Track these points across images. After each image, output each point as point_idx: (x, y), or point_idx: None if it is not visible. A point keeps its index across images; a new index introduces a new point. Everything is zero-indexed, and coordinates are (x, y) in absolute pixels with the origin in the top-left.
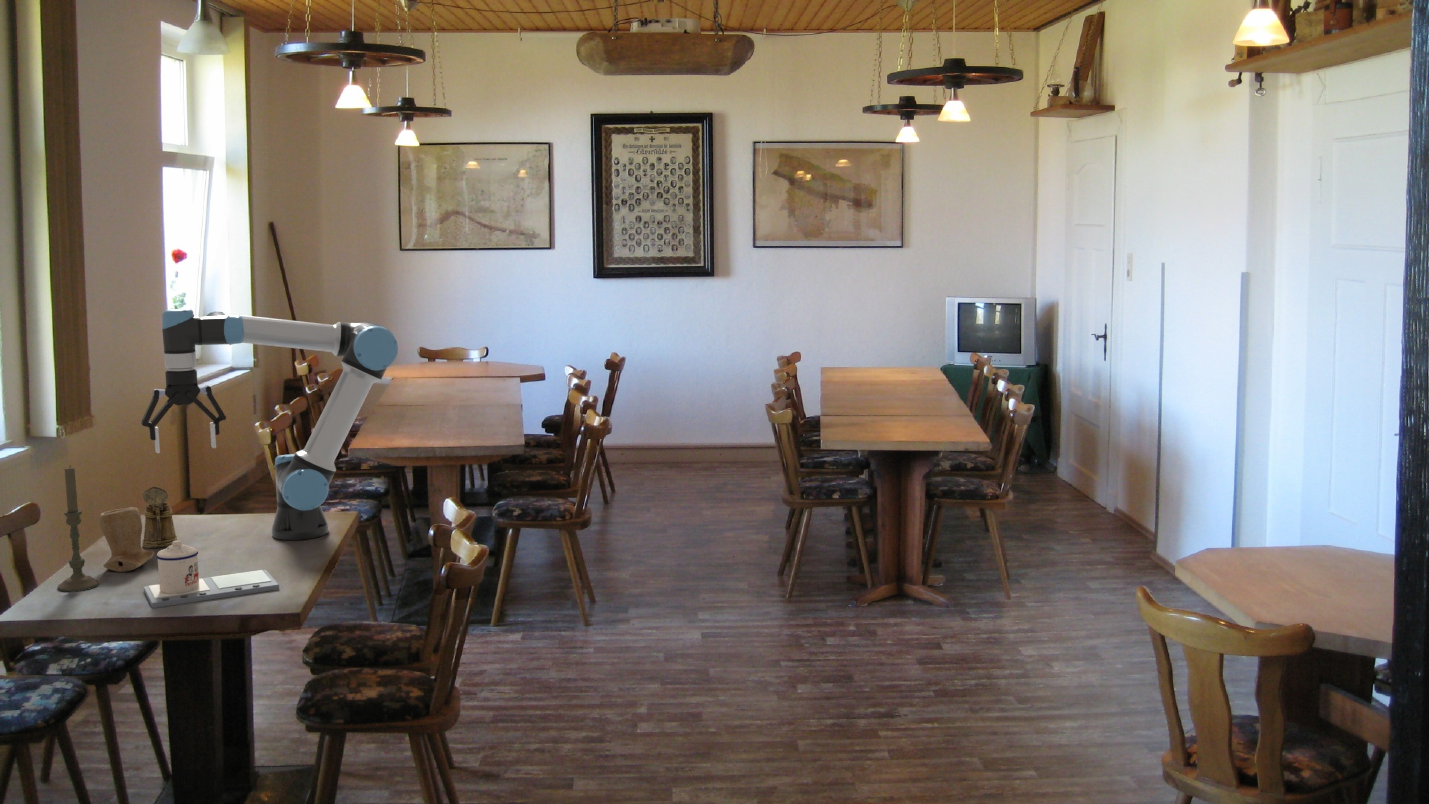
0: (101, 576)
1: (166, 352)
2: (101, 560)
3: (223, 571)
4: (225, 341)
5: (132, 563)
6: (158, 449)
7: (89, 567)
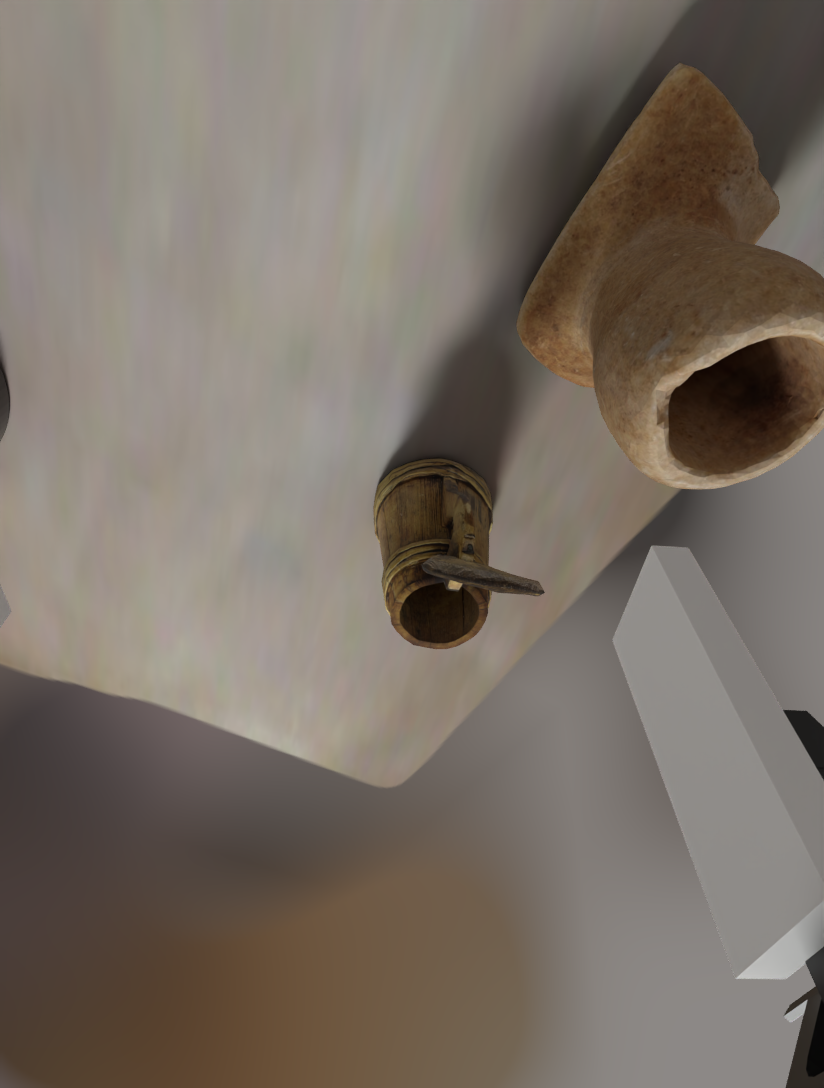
0: (813, 121)
1: None
2: None
3: None
4: None
5: (708, 81)
6: (683, 580)
7: None
